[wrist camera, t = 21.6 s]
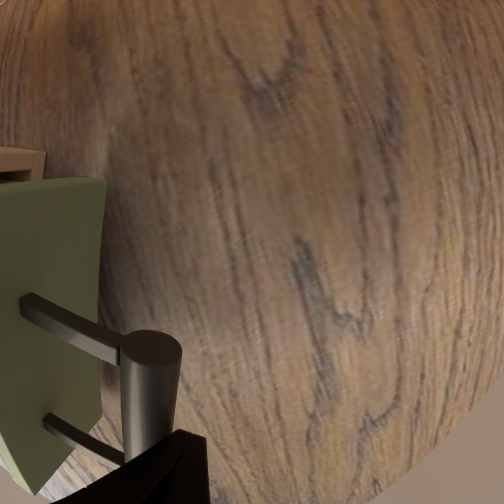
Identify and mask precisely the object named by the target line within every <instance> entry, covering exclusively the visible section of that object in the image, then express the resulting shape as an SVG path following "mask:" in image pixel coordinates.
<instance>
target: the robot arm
mask: <svg viewBox="0 0 504 504" xmlns="http://www.w3.org/2000/svg"><path fill="white" fill-rule="evenodd" d="M86 488H87V489H86ZM86 488H85V487H84V488H82V489H80V490H79V491H77V492H75V493H73V494H71V495H69V496H67V497H65V498H63V499H60V500H58V501H56V502H53V503H50V504H210V491H209V477H208V461H207V443H206V438H205V437H202V436H199V435H196V434H192V433H191V432H188V431H185V430H182V429H177V430H176V431H174V432H173V433H171V434H170V435H168V436H167V437H165V438H164V439H162V440H161V441H159V442H158V443H156V444H155V445H153V446H152V447H150V448H149V449H147V450H146V451H144V452H143V453H141V454H140V455H138V456H136V457H135V458H133V459H132V460H130V461H128V462H127V463H125V464H124V465H122V466H120V467H119V468H117V469H115V470H114V471H112V472H110V473H109V474H107V475H105V476H104V477H102V478H100V479H98V480H97V481H95V482H93V483H91V484H90V485H88V486H87V487H86Z"/></svg>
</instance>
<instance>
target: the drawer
mask: <svg viewBox="0 0 504 504" xmlns="http://www.w3.org/2000/svg"><path fill="white" fill-rule="evenodd" d="M107 187H108V182H107V181H105V180H101V179H96V178H91V177H86V176H82V177H68V178H55V179H44V180H33V181H24V182H19V181H15V180H11V179H6V178H2V177H0V457H1V459H2V461H3V462H4V464H5V466H6V468H7V469H8V471H9V473H10V474H11V476H12V477H13V479H14V481H15V482H16V483H17V484H18V485H20V486H21V487H22V488H24V489H25V490H26V491H28V492H29V493H30V494H32V495H33V496H35V495H36V494H37V493H38V492H39V491H40V489H41V488H42V487H43V486H44V485H45V483H46V482H47V481H48V480H49V479H50V477H51V476H52V475H53V474H54V473H55V471H56V470H57V469H58V468H59V467H60V466H61V464H62V463H63V462H64V461H65V460H66V458H67V457H68V456H69V455H70V454H71V452H72V451H73V450H74V449H77V450H78V451H80V452H82V453H84V454H85V455H87V456H89V457H91V458H92V459H94V460H96V461H98V462H100V463H102V464H104V465H106V466H108V467H110V468H112V469H114V470H115V469H117V468H119V467H120V466H122V465H124V464H125V463H127V462H128V461H130V460H132V459H133V458H135V457H136V456H138V455H140V454H141V453H143V452H144V451H146V450H147V449H149V448H150V447H152V446H153V445H155V444H156V443H158V442H159V441H161V440H162V439H164V438H165V437H167V436H168V435H170V434H171V433H172V431H173V422H174V413H175V405H176V397H177V389H178V381H179V374H180V366H181V359H182V348H181V345H180V344H179V342H178V341H177V340H176V339H174V338H173V337H171V336H170V335H168V334H165V333H162V332H159V331H154V330H138V331H134V332H131V333H129V334H127V335H126V336H124V335H122V334H120V333H117V332H115V331H112V330H110V329H108V328H106V327H103V326H101V325H99V324H98V283H99V264H100V250H101V238H102V228H103V218H104V209H105V201H106V194H107ZM98 358H99V359H101V360H103V361H105V362H107V363H109V364H112V365H114V366H119V365H120V391H121V418H122V434H123V448H124V453H123V452H121V451H119V450H117V449H115V448H113V447H111V446H109V445H107V444H105V443H103V442H101V441H99V440H97V439H95V438H93V437H92V436H90V435H88V432H89V431H90V430H91V429H92V428H93V426H94V425H95V424H96V423H97V422H98V421H99V419H100V418H101V417H102V405H101V393H100V379H99V361H98Z"/></svg>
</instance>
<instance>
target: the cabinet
mask: <svg viewBox="0 0 504 504" xmlns="http://www.w3.org/2000/svg"><path fill="white" fill-rule="evenodd" d="M45 158H46V152H44V151H36V150H29V149H20V148H12V147H3V146H0V177H2V178H6V179H11V180H15V181H19V182H24V181H33V180H43V173H44V165H45Z"/></svg>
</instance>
